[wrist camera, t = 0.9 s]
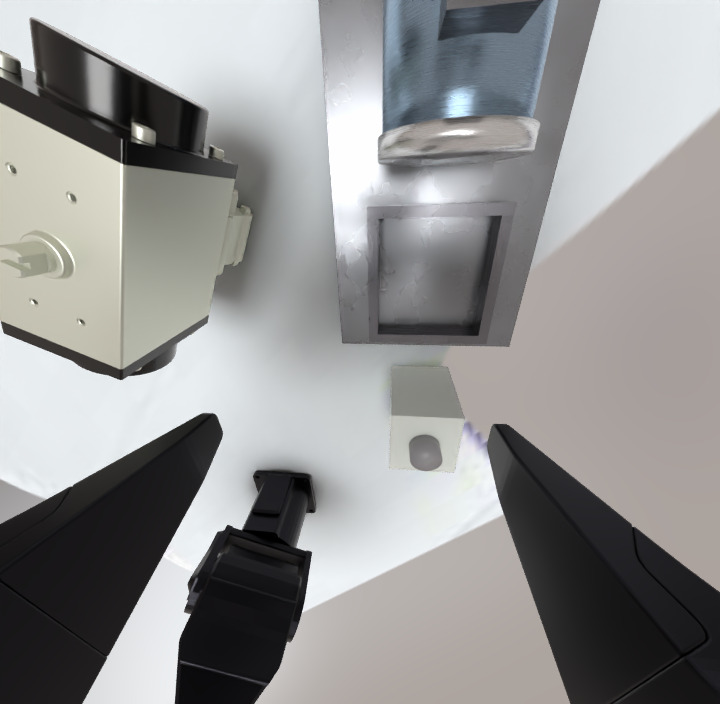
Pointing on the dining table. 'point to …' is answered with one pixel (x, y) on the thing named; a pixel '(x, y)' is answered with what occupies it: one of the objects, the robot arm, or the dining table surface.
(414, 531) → the dining table surface
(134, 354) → the pneumatic valve
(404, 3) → the motor mount
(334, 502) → the dining table surface
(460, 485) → the dining table surface
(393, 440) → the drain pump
